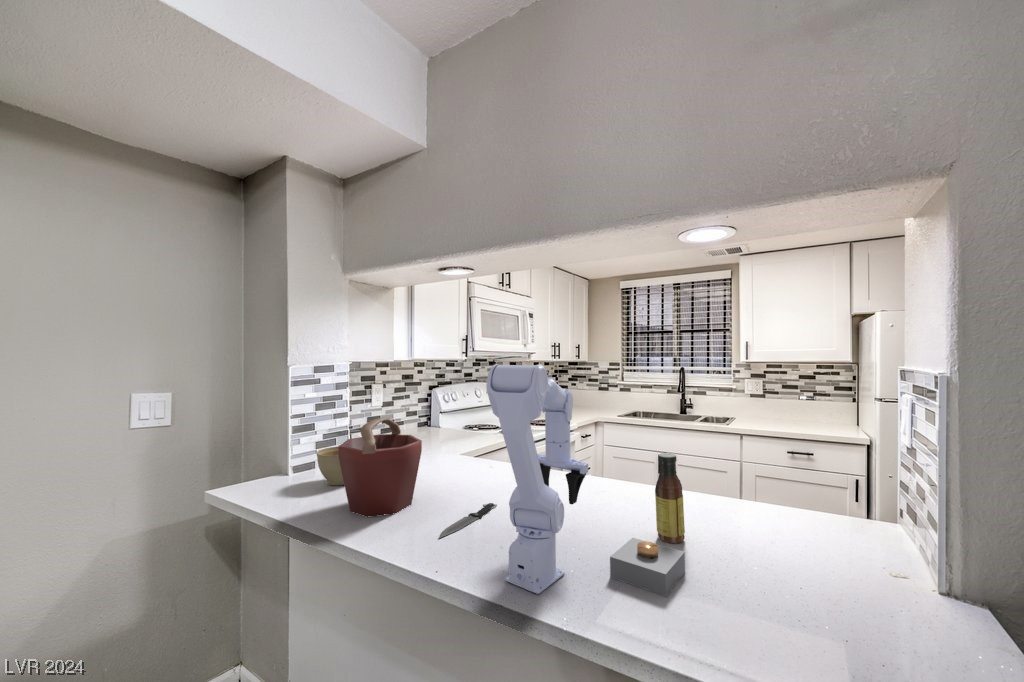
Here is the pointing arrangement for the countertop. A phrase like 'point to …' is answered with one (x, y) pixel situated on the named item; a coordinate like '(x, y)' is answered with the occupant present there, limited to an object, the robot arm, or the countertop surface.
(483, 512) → the knife
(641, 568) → the block
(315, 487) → the countertop surface
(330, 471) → the planter bowl
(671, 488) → the sauce bottle
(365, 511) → the bucket
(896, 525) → the countertop surface
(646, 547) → the plunger
